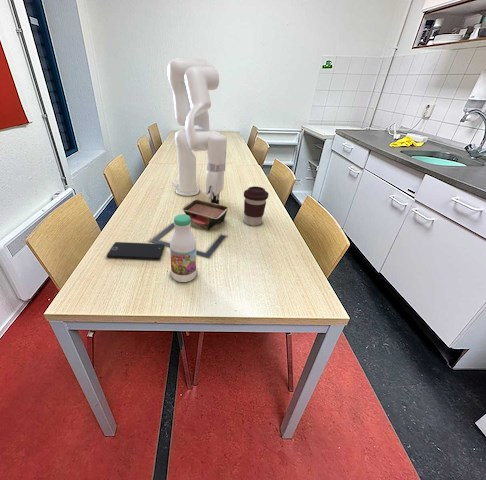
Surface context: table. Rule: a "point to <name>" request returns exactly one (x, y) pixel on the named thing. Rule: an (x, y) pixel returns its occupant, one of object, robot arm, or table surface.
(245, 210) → the coffee cup
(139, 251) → the cell phone
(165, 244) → the tape outline
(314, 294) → the table surface
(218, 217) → the baking dish
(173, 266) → the milk bottle
